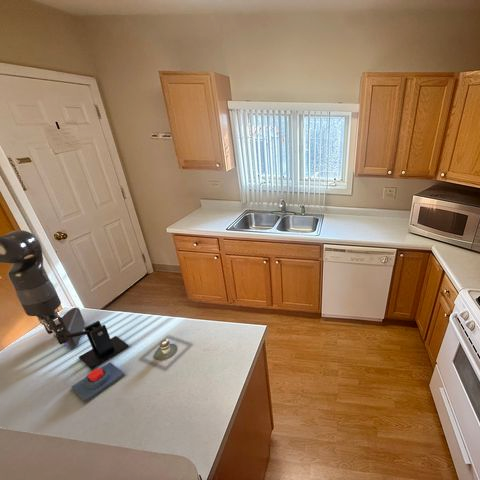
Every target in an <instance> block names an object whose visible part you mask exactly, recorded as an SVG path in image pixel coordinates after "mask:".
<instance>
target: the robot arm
mask: <svg viewBox="0 0 480 480" xmlns="http://www.w3.org/2000/svg"><path fill="white" fill-rule="evenodd" d="M0 264H7V265H8V264H10V265H11V264H12V265H11V266H10V268H9V269H8V271H7V277H8V279H9V281H10V284H11V285H12V287H13V289H14V291H15V294H16V297H17V299H18V301H19V303H20V305H21V307H22V309H23V311H24V313H25V315H27V316H29V317H36V318H37V320H38V322H39V323H40V324H41V325H42V326H43V327H44V329H45V331H46V333H47V334H48V335H52V334H53V335H54V336H56V338H57V339H56V338H55V339H56V341H57V342H58V344H59V345H64V344H66V342H68V341H69V339H68V336H67V334H66V333H68V330H67V329H66V327H65V324H64V322H63V320H62V316H61V314H60V313H59V312H58V311H56V310H57V309H58V308H59V307H61V304H62V301H61V299H60V297H59V295H58V292H57V290H56V288H55V286H54V283H52V281H51V280H50V278H49V276H48V273H47V271H46V269H45V266H44V255H43V249H42V244H41V241H40V240H39V238H38V237H36V235H34V234H33V233H32V232H30V231H27V230H23V229H22V230H21V229H18V230H12V231H10V232H7V233H6V234H4V235H0ZM59 329H62V330H60V331H59ZM54 336H53V337H54Z"/></svg>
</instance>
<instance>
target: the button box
mask: <svg viewBox="0 0 480 480" xmlns="http://www.w3.org/2000/svg"><path fill="white" fill-rule="evenodd" d="M99 368H100V369H102V370H103V373H104V375H103V377H102V378H100V379H99V380H97V381H94V382H92V381H90V379H89V377H88V375H89V373H88V374H87V375H86V376H85V377H84V378H83V379H81V380H79V381H77V382H76V383H74V384H73V385H71V386H70V387H71V389H72V390H73V391H74V393H75V394H76V395H77V396H79V398H81V400H82V401H83V402H84V403H88V402H89V401H91V400H92V399H94V397H96V396H98V395H99V394H101V393H103V391H105V390H107V389H108V388H109V387H111V386H112V385H114V384H115V383H116V382H118V381H119V380H121V379H122V378H124V377H125V373H124V372H123V371H122V370H120V369H119V368H118V367H117V366H115V365H114V364H113V363H112V362H108V363H105V365H103V366H101V367H99Z"/></svg>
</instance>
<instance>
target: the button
mask: <svg viewBox="0 0 480 480" xmlns="http://www.w3.org/2000/svg"><path fill="white" fill-rule="evenodd" d="M100 368H101V367H99V368H98V367H97V368H94V369H92V370H91V371H90V372H89V373H88V374H89V375H88V374H87V375H88V377H89V379H90V381H92V382H94V381H97V380H99V379H100V378H102V377H103V375H104V373H103V370H102V369H100Z"/></svg>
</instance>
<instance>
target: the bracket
mask: <svg viewBox="0 0 480 480" xmlns="http://www.w3.org/2000/svg"><path fill="white" fill-rule="evenodd" d="M95 326H100V327H99V328H97V329H95V330H93V331H91V332H90V334H86V337H87V339H88V341H89V344H90V346H91V349H90V350H88V351H86V352H84V353H83V354H81V355H79V356H78V359H79V361H81V362H82V363H83V364H84V365H86V367H88V368H89V369H90V370H91V371H93V370H95V369H97V368H98V367H99V366H101V365H102V364H104V363H106V362H107V361H108V360H111V359H113V357H115V356H117V355H118V354H120V353H122V352H123V351H125V350H126V349H128V348H129V347H130V346H129V344H127V343H126V342H125V341H124V340H123V339H121V338H119V337H118V336H117V335H115V336H113V337H110V334H109V331H108V329H107V326H106V325H105V324H103V325H102V324H101V321H99V320H97V321H95V322H92V323H91V324H89V325H87V326H84V327H83V331H87V330H90V328H91V327H95Z"/></svg>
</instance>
